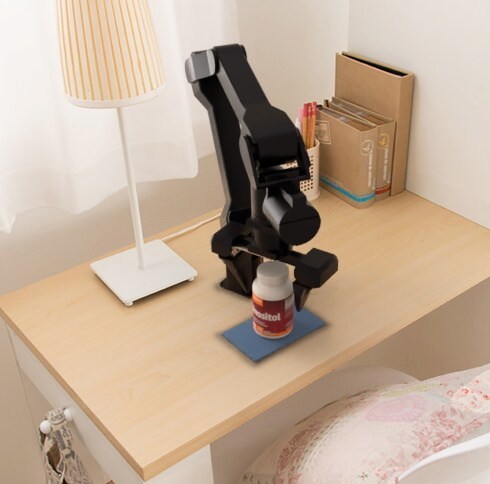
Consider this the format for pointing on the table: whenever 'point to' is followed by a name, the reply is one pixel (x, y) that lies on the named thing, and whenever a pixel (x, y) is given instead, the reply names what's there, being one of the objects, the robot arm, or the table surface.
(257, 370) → the table surface
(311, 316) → the napkin
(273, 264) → the pill bottle
